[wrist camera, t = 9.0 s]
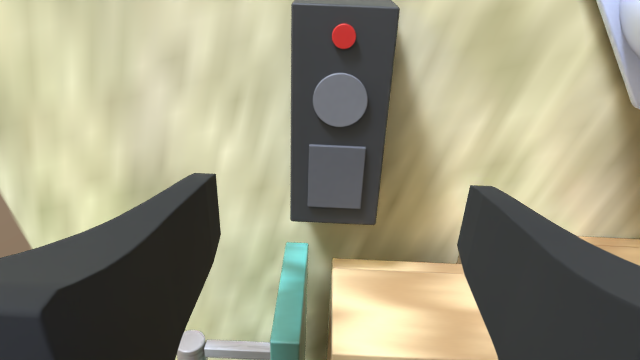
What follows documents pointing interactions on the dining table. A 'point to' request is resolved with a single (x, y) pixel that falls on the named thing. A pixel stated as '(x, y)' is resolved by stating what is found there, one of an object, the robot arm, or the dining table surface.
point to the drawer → (367, 315)
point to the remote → (339, 107)
